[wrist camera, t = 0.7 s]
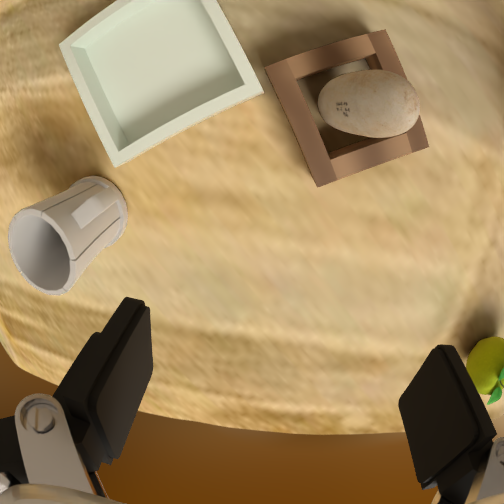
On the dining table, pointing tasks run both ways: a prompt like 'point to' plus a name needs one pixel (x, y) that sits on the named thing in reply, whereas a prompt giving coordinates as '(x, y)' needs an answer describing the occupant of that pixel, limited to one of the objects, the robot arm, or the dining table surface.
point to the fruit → (487, 367)
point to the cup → (66, 233)
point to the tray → (156, 71)
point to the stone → (370, 103)
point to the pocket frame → (303, 125)
